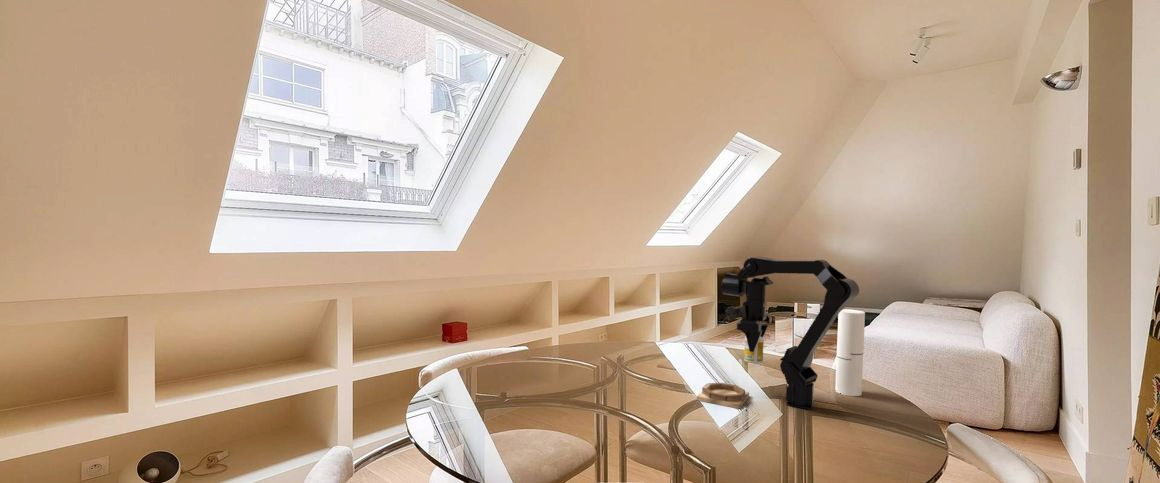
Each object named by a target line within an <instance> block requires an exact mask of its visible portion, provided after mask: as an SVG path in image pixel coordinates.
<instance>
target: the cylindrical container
mask: <svg viewBox="0 0 1160 483" xmlns="http://www.w3.org/2000/svg"><path fill="white" fill-rule="evenodd" d="M837 319H838V320H837V338H836V339H837V340H836V342H837V343H836V346H837V347H836V362H835V363H836V366H835V367H836V368H835V388H834V389H835V390H836V391H835V390H834V391H835V392H836V393H837V394H840V393H841V394H840V395H842V396H847V397H860V396H862V393H863V392H862V390H863V389H862V388H863V371H864V370H863V368H864V367H863V366H864V345H865V344H864V343H865V342H864V341H865V321H866V312H865V311H863V310H859V309H858V310H857V309H849V308H844V309H843V310H842V311H840V313H839V314H838V316H837Z"/></svg>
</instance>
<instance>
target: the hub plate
mask: <svg viewBox="0 0 1160 483" xmlns="http://www.w3.org/2000/svg"><path fill="white" fill-rule="evenodd" d="M701 390H702V391H701V392H700V393H699V394H698V395H697V396H696V401H698V402H699V401H700V402H704V403H709V404H713V405H718V406H719V405H720V406H723V407H728V408H732V409H733V408H734V409H737V410H738V409H741V408H742V406H743V404H745V402H746V401H747V399H749V397H750V392H749V391H746V390H745V389H744V388H742V387H740V386H738V385H736V384H730V383H726V382H710V383H705V385H703V386H702V388H701Z"/></svg>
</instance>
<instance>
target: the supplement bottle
mask: <svg viewBox="0 0 1160 483" xmlns="http://www.w3.org/2000/svg"><path fill="white" fill-rule="evenodd" d="M743 355H744V356H743V360H744V362H746V363H749V364H761V363H763V361H764V337H763V338H762V337H761V336H760V338H759V340H758V342H757V345H756V347H755V350H754V352H750V350H749V346H748V342H747V338H746V336H745V337H744V354H743Z"/></svg>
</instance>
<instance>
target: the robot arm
mask: <svg viewBox="0 0 1160 483" xmlns="http://www.w3.org/2000/svg"><path fill="white" fill-rule="evenodd" d="M774 274H796V275H797V274H800V275H801V274H802V275H803V274H805V275H811V274H812V275H814V276H815V277H816V278H817V280H818V281H819V282H820V284H821V285H822V287H823V288H825V289H826V292H825V295H824V300H823V305H822V307H821V309H820V310H819V312H818V313H817V315H816V317H815V319H813V321H812V323H811V325H810V326H809V328H808V329H807V331H806V332H805V334H804V336H803V338H802V339H801V341H800V342H799V343H798V345H794V346H791V347H788V348H786V351H785V352H784V355H783V356H782V357H781V358H780V359H779V360H780V361H781V362H780V363H779V364H780V365H779V369H780V371H781V372H782V374H783V376H784V379H785V382H786V385H787V386H786V389H785V390H786V391H785V393H786V394H785V401H786V406H790V407H796V408H799V407H800V409H804V408H805V409H804V410H813V408H812V407H814V404H815V401H814V392H815V391H814V390H815V389H814V388H815V383H816V381H817V379H818V377H819V376H818V374H817V373H816V371H815V370H814V369H813V368H812V367H811V365H812V363H813V359H814V354H815V351H816V350H817V349H818V347H819V346H820V343H821V342H822V340H823V338H824V337H825V336H826V334H827V332H828V331H829V329H830V328H831V326H832V325H833V323H834V322H835V321H836V319H837V318H838V314H839V313H840V311H842V310H843V309H846V307H847V306H848V305H850V304H851V302H853V301H854V300H855V299H856V298H857V297H858V295H859V293H860V288H859V285H858V283H857V281H855V279H854V280H853V279H852V278H848V277H847V276H846V275H845V274H844V273H843V272H841V271H839V270H838V269H837V268H836V267H834V266H832V265H831V264H830V263H829V262H828V261H827V260H825V259H817V260H815V259H814V260H779V259H774V258H770V257H764V256H754V257H753V256H752V257H748V258H746V260H745V261H744V262H743V267H742V268H741V270H740V271H739V272H738V273H737V274H735V273H730V272H727V273H724V277H723V279H722V281H721V283H720V291H721V293H722V295H725V296H726V295H727V296H734V297H743V296H744V295H745V301H743V302H742V305H739V306H734V305H732V306H728V307H727V309H726V310H725V311H724V312H725V317H727V320H728V321H732V320H736V319H738V318H741V319H740V320H739V321H738V322H736V330H738V331H741V332H742V333H743V334H744V335H745V337H746V338H747V342H748V346H749V350H750V352H754V350H755V347H756V345H757V342H758V340H759V338H760V336H761V337H762V338H763V339H764V336H765V334H766V332H767V330H768V329H769V327H770V326H769V324H771V323H772V315H771V314H770V313H769V312H766V306H767V305H768V302H767V301H766V298H767V295H766V293H767V291H766V290H767V286H770V285H774V281H772V279H770V278H769V276H766V275H774ZM760 276H763V277H761V278H759V277H760ZM749 279H751V280H749ZM765 322H766V324H765Z"/></svg>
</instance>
